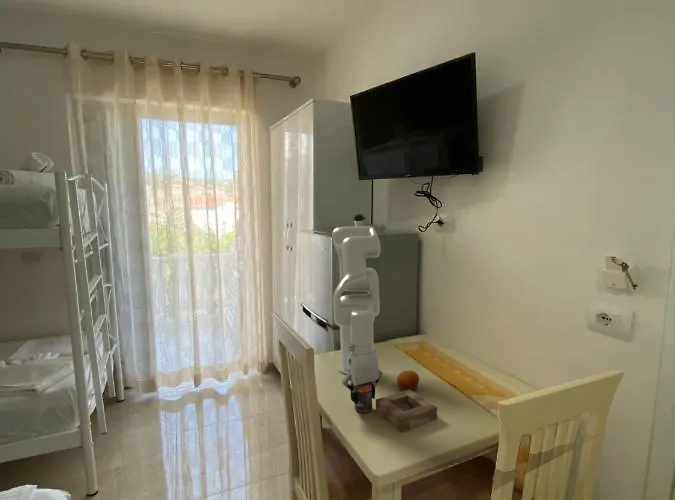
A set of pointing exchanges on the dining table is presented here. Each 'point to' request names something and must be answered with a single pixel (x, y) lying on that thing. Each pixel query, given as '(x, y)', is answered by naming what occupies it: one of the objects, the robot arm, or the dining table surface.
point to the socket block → (411, 418)
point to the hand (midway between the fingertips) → (363, 399)
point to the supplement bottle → (364, 398)
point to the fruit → (408, 380)
